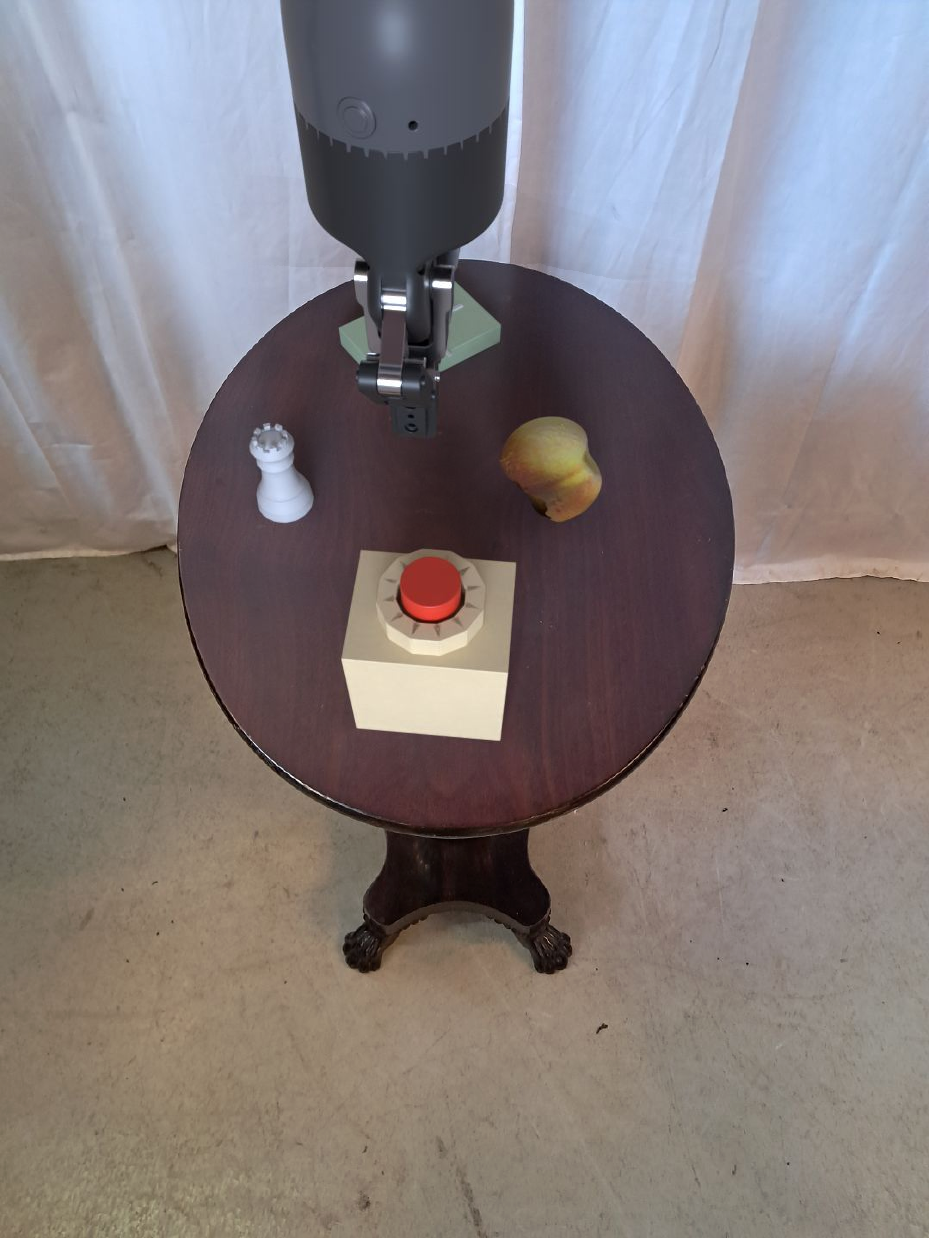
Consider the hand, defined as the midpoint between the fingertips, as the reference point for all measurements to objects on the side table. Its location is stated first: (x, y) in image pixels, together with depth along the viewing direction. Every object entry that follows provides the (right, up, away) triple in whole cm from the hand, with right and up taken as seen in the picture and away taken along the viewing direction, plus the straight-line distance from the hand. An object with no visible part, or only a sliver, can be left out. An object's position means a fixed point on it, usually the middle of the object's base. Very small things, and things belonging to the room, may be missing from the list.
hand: (416, 426), depth 46 cm
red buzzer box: (0, -14, +19) cm, 24 cm away
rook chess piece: (-12, -1, +27) cm, 30 cm away
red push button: (0, -8, +9) cm, 12 cm away
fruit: (+9, 0, +28) cm, 29 cm away
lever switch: (-2, +15, +36) cm, 39 cm away
